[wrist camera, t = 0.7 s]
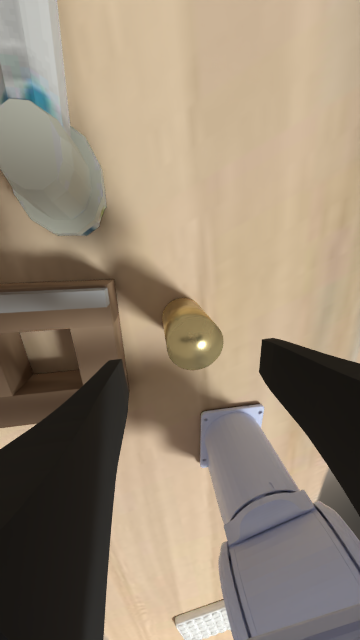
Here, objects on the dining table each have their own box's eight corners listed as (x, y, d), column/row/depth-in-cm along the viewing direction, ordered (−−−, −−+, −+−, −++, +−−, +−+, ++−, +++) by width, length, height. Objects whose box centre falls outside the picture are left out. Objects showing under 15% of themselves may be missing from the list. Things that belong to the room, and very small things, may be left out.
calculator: (173, 612, 43) (174, 628, 41) (258, 583, 44) (262, 597, 42) (185, 632, 48) (187, 647, 46) (262, 605, 49) (266, 618, 47)
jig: (129, 390, 21) (124, 421, 17) (7, 404, 19) (-27, 440, 16) (114, 279, 17) (103, 287, 13) (-42, 285, 15) (-103, 296, 12)
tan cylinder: (201, 334, 20) (221, 367, 14) (163, 337, 19) (168, 372, 14) (202, 296, 19) (224, 316, 13) (161, 299, 18) (165, 320, 13)
